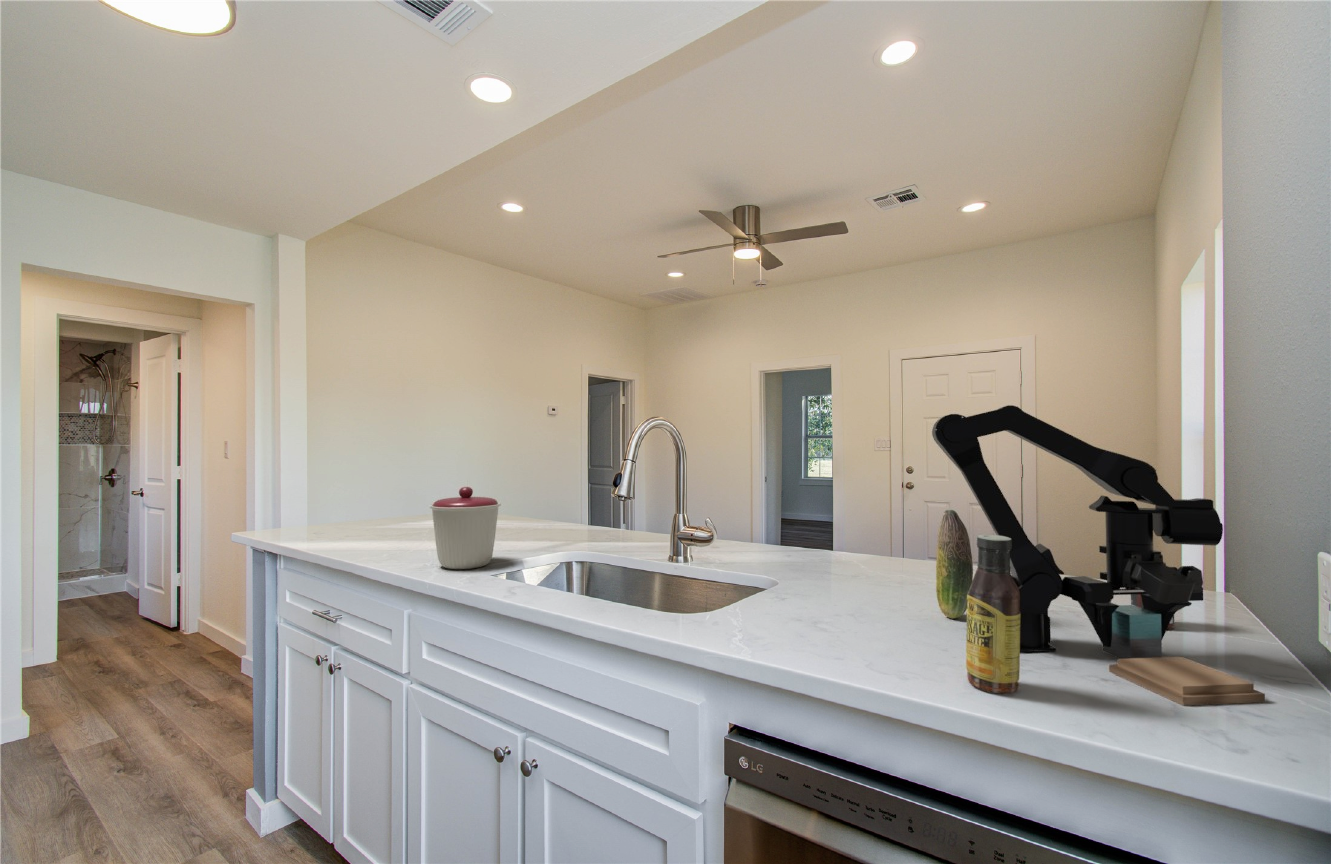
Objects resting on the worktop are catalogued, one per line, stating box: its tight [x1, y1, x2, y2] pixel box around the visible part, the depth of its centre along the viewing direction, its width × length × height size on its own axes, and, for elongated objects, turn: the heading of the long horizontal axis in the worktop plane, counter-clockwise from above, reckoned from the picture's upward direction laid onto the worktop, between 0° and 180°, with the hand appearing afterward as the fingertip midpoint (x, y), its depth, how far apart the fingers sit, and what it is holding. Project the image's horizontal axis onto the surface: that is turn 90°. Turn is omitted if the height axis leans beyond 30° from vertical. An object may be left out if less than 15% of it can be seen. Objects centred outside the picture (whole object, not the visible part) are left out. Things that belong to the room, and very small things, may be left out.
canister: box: [429, 486, 502, 570], centre depth 160 cm, size 18×18×21 cm
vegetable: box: [935, 509, 974, 619], centre depth 111 cm, size 6×6×20 cm
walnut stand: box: [1108, 656, 1266, 706], centre depth 79 cm, size 11×11×2 cm
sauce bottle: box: [965, 534, 1021, 694], centre depth 79 cm, size 7×6×20 cm
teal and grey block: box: [1102, 604, 1163, 659], centre depth 90 cm, size 5×5×7 cm
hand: (1131, 645), depth 90 cm, fingers open, 8 cm apart
